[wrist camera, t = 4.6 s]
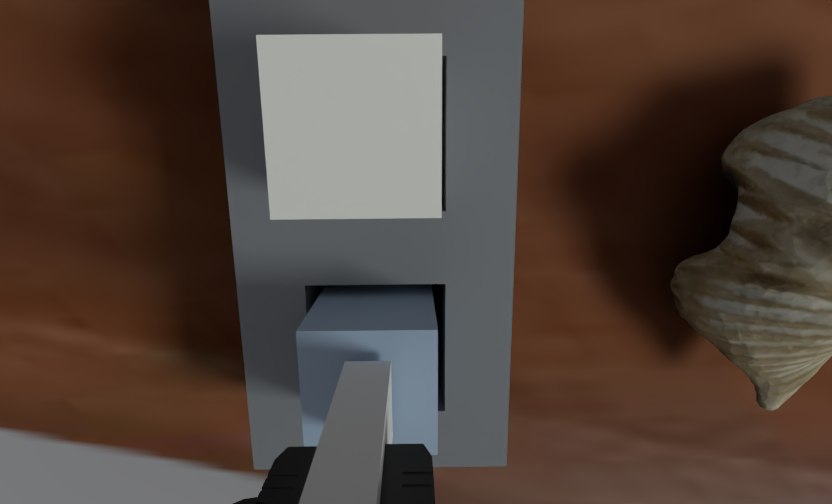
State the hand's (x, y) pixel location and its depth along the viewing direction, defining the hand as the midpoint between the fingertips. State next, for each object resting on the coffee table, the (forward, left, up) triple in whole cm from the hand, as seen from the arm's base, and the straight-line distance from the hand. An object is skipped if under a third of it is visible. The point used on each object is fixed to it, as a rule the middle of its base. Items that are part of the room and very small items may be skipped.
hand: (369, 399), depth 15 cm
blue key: (0, 0, -7) cm, 7 cm away
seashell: (-3, +19, -10) cm, 22 cm away
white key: (-8, 0, -6) cm, 10 cm away
